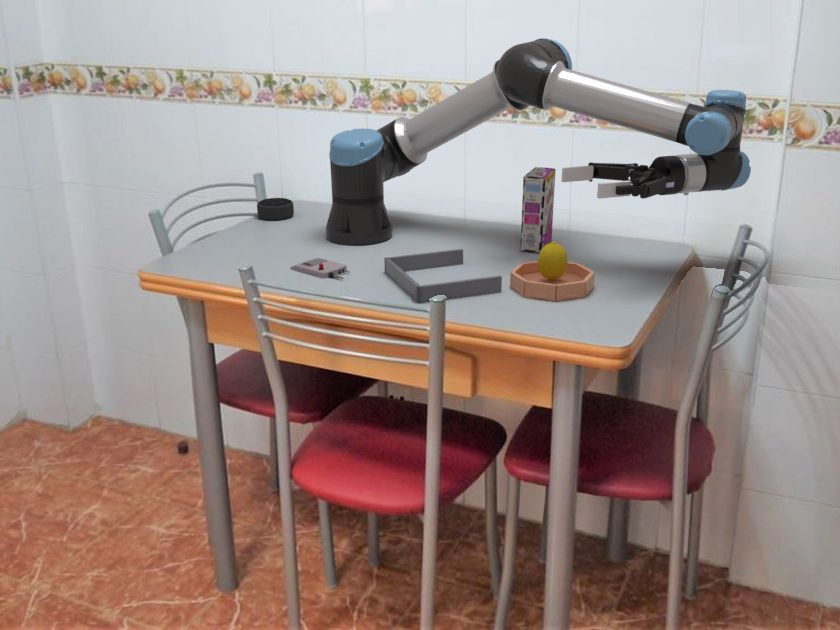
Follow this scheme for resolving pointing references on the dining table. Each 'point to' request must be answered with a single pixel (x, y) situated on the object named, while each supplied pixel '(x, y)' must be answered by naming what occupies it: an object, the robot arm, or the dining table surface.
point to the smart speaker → (275, 209)
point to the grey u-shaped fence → (449, 289)
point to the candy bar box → (537, 209)
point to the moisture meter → (321, 268)
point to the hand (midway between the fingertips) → (579, 182)
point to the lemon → (552, 261)
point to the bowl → (564, 288)
